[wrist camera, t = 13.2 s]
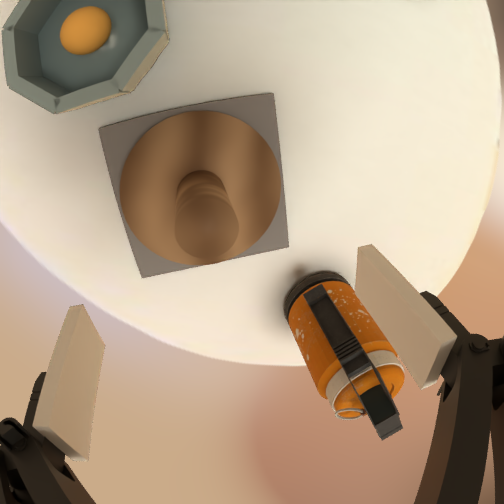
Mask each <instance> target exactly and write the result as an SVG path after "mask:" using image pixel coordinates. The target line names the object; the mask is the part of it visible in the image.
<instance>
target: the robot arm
mask: <svg viewBox="0 0 504 504" xmlns="http://www.w3.org/2000/svg"><path fill="white" fill-rule="evenodd" d="M355 294H356V296H357V297H358V298H359V300H360V301H361V303H362V304H363V305H364V307H365V308H366V310H367V311H368V312H369V314H370V315H371V317H372V318H373V319H374V321H375V322H376V324H377V325H378V327H379V328H380V329H381V331H382V332H383V334H384V335H385V337H386V338H387V340H388V341H389V342H390V344H391V345H392V347H393V348H394V350H395V351H396V353H397V354H398V356H399V357H400V359H401V360H402V362H403V363H404V365H405V366H406V368H407V369H408V370H409V372H410V374H411V375H412V376H413V378H414V380H415V381H416V383H417V384H418V386H419V388H420V389H421V390H422V389H424V388H426V387H429V386H431V385H433V384H435V383H436V382H437V380H438V378H439V375H440V374H441V375H442V377H443V378H444V382H443V383H442V385H441V387H440V389H439V391H438V393H437V395H438V396H439V395H440V393H441V398H440V403H439V409H438V415H437V420H436V425H435V430H434V434H433V439H432V443H431V447H430V451H429V455H428V459H427V463H426V467H425V470H424V474H423V477H422V480H421V484H420V487H419V490H418V493H417V496H416V499H415V502H414V504H478V500H479V496H480V492H481V486H482V482H483V476H484V471H485V465H486V459H487V452H488V444H489V435H490V431H491V438H492V449H493V460H494V474H495V504H504V336H503V338H500V339H494V340H487V339H486V338H485V337H484V336H482V335H479V334H470V333H469V332H468V331H467V330H466V328H465V327H464V326H463V325H462V324H461V323H460V322H459V321H458V319H456V317H455V316H454V315H453V314H452V313H451V312H449V310H448V309H447V307H446V306H444V305H443V303H442V302H441V301H440V300H439V299H438V298H437V297H436V296H434V295H433V294H431V293H429V292H427V291H425V292H422V293H419V292H418V291H417V290H416V289H415V288H414V287H413V286H412V285H411V284H410V283H409V282H408V281H407V280H406V279H405V277H404V276H403V275H402V274H401V273H400V272H399V271H398V270H397V269H396V268H395V267H394V266H393V265H392V264H391V263H390V262H389V261H388V260H387V259H386V258H385V257H384V256H383V255H382V254H381V253H380V252H379V251H378V250H377V249H376V248H375V247H374V246H373V245H372V244H370V245H366V246H361V247H358V255H357V270H356V283H355ZM104 349H105V344H104V342H103V341H102V339H101V337H100V335H99V333H98V332H97V330H96V328H95V326H94V324H93V322H92V321H91V319H90V317H89V315H88V313H87V311H86V309H85V307H84V305H83V304H82V305H76V306H71V307H69V310H68V313H67V315H66V318H65V320H64V323H63V326H62V329H61V331H60V334H59V337H58V340H57V342H56V345H55V348H54V351H53V354H52V357H51V360H50V363H49V367H48V370H47V372H42V373H41V374H40V375H39V377H38V378H37V380H36V381H35V384H34V387H33V390H32V392H33V393H32V394H31V397H30V402H29V405H28V408H27V412H26V416H25V420H24V424H23V426H22V425H21V424H20V423H19V422H18V421H17V420H16V419H14V418H6V419H4V420H2V421H1V422H0V444H1V446H0V504H96V503H95V502H94V500H93V499H92V498H91V496H90V495H89V494H88V492H87V491H86V490H85V488H84V487H83V486H82V485H81V483H80V481H79V480H78V479H77V477H76V476H75V474H74V473H73V471H72V470H71V468H70V467H69V465H68V464H67V463H66V462H65V461H64V460H65V455H66V456H68V457H69V458H70V459H72V460H73V461H88V460H89V450H90V441H91V432H92V423H93V415H94V408H95V401H96V394H97V388H98V381H99V376H100V370H101V365H102V360H103V354H104Z"/></svg>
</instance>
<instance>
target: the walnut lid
mask: <svg viewBox="0 0 504 504" xmlns="http://www.w3.org/2000/svg"><path fill="white" fill-rule="evenodd" d="M280 195H281V176H280V171H279V167H278V163H277V160H276V158H275V156H274V154H273V152H272V150H271V148H270V147H269V145H268V144H267V142H266V141H265V140H264V139H263V137H262V136H261V135H260V134H259V133H258V132H257V131H255V130H254V129H253V128H252V127H251V126H249V125H248V124H246V123H244V122H243V121H241V120H239V119H237V118H235V117H232V116H230V115H227V114H223V113H220V112H214V111H190V112H184V113H181V114H177V115H174V116H172V117H169V118H167V119H165V120H163V121H161V122H160V123H158V124H156V125H155V126H154V127H152V128H151V129H150V130H149V131H147V132H146V133H145V134H144V135H143V136H142V137H141V138H140V139H139V141H138V142H137V143H136V144H135V146H134V147H133V149H132V150H131V152H130V153H129V155H128V157H127V159H126V161H125V164H124V167H123V170H122V174H121V179H120V203H121V207H122V211H123V214H124V217H125V220H126V222H127V224H128V225H129V227H130V229H131V231H132V232H133V233H134V235H135V236H136V238H137V239H138V240H139V241H140V242H141V243H142V244H143V245H144V246H146V247H147V248H148V249H149V250H151V251H152V252H154V253H155V254H157V255H159V256H161V257H163V258H165V259H167V260H170V261H173V262H176V263H181V264H186V265H209V264H215V263H219V262H223V261H226V260H228V259H231V258H233V257H235V256H237V255H239V254H241V253H243V252H244V251H246V250H247V249H249V248H250V247H251V246H252V245H253V244H255V243H256V242H257V241H258V240H259V239H260V238H261V237H262V235H263V234H264V233H265V232H266V230H267V229H268V227H269V226H270V224H271V222H272V221H273V219H274V217H275V214H276V212H277V209H278V205H279V201H280Z"/></svg>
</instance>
